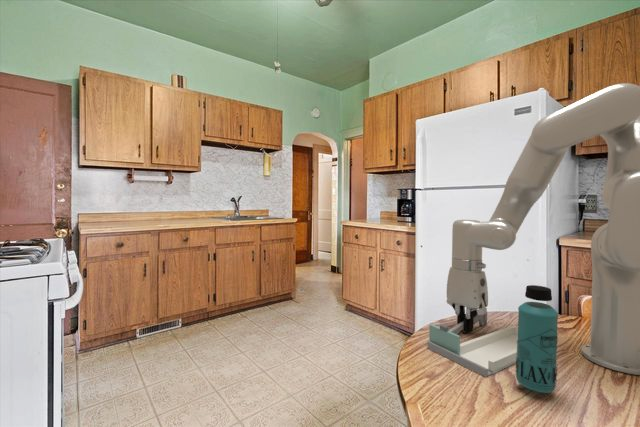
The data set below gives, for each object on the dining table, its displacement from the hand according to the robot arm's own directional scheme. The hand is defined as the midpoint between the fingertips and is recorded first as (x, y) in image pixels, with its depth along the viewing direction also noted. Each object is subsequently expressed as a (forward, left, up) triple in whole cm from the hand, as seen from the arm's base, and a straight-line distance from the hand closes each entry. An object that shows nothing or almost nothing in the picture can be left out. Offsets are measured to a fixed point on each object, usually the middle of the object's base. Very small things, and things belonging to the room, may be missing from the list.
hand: (465, 330), depth 87 cm
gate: (-5, +15, 0) cm, 16 cm away
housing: (-9, +4, 0) cm, 10 cm away
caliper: (0, 0, -1) cm, 1 cm away
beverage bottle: (-24, +13, -1) cm, 28 cm away
